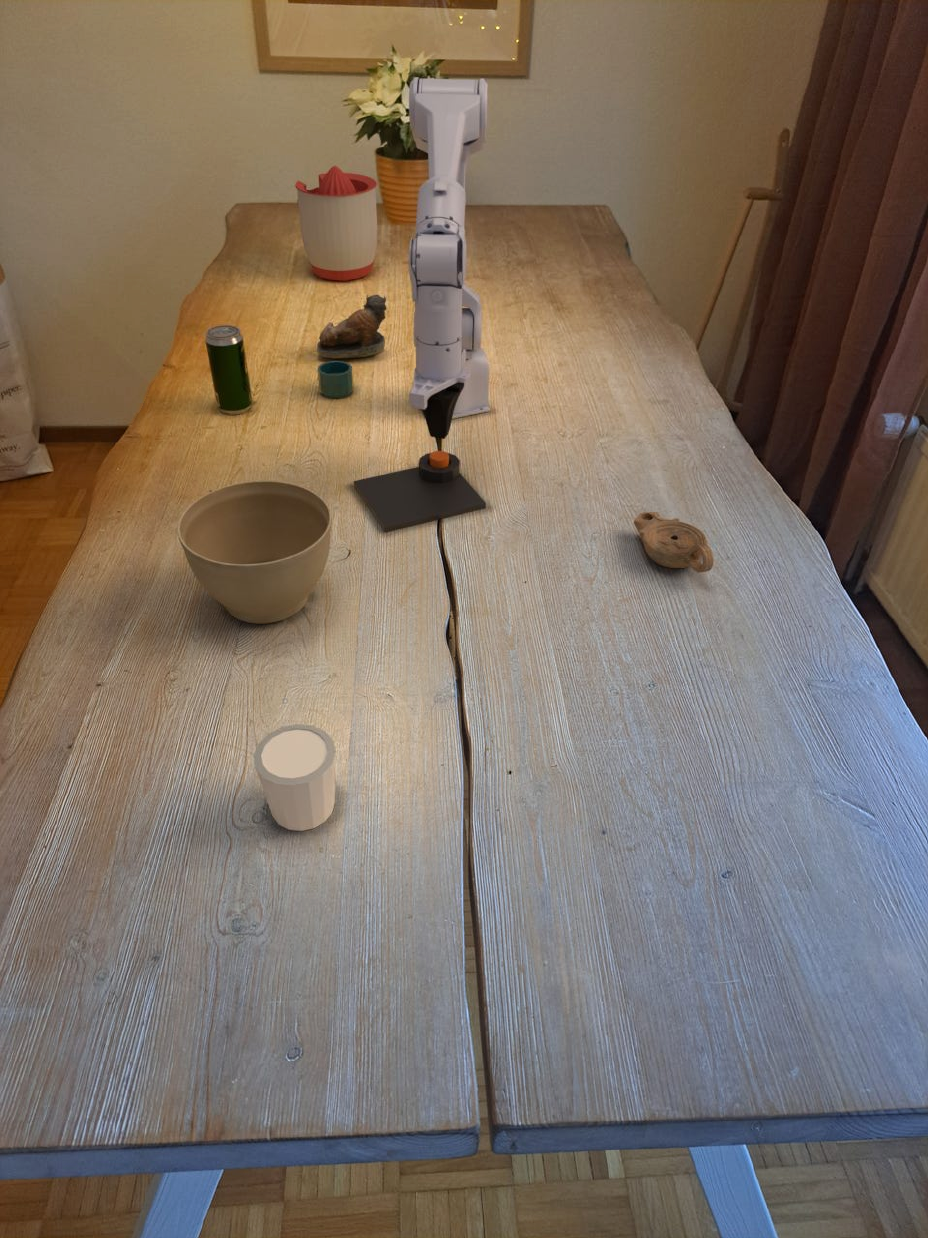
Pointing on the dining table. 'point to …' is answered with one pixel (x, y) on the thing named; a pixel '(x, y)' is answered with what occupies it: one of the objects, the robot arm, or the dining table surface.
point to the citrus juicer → (339, 224)
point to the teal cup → (335, 379)
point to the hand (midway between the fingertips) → (439, 435)
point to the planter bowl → (257, 546)
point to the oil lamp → (673, 542)
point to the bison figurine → (355, 332)
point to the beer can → (229, 369)
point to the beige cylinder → (297, 775)
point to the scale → (419, 494)
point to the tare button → (439, 459)
